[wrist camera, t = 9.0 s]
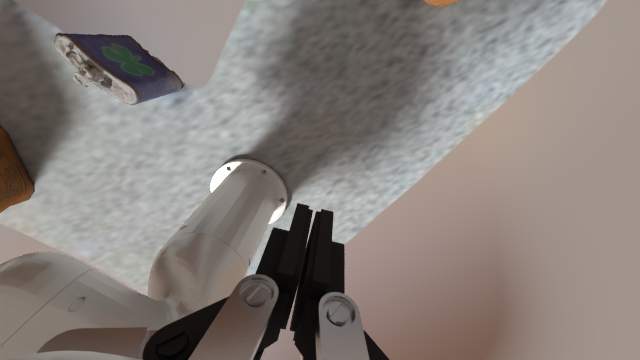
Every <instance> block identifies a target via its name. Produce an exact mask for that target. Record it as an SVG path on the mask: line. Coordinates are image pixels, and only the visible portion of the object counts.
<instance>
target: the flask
mask: <svg viewBox="0 0 640 360" xmlns="http://www.w3.org/2000/svg"><path fill="white" fill-rule="evenodd" d="M54 41H55V47H56V49H57V50H58V52H59V53H60V54H61V55H62V56H63V57H64V58H65V59H66V60H68V61H69V62H70V63H71V64H72V65H73V66H74V68H76V69H77V70H78V72H75V74H76V75H77V76H78V77H79V78H81V80H82V81H84V82H91V83H94V84H95V85H96V86H98V87H100V88H101V89H103V90H104V91H106V92H107V93H109V94H111V95H113V96H114V97H116V98H117V99H119V100H121V101H123V102H125V103H127V104H130V105H135V104H138V103H141V102H144V101H147V100H151V99H154V98H158V97H160V96H163V95H167V94H170V93H174V92H178V91H179V90H180V89H181V88H182V85H183V82H182V81H181V79H180V78H179V76H178V75H177V74H176V73H175V72H174V71H171V70H169V69H168V68H167V67H166V66H165V65H164V64H163V63H162V62H161V61H160V60H159V59H158V58H156V57H154V56H151V55H150V54H149V53H148V51H147V50H145V49H143V48H142V47H141V45H140V44H139V43H137V42H136V41H135V40H134V39H133V38H132V37H131V36H128V35H113V36H112V35H103V34H99V35H98V34H97V35H90V34H89V35H84V34H62V33H58V34H56V36H55V40H54ZM73 79H74V80H75V81H76V82H77V83H78V84H79V85H82V83H81V81H80V80H78V79H77V78H76V76H74V77H73ZM84 86H85V87H88V86H87V85H84Z"/></svg>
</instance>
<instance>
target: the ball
mask: <svg viewBox="0 0 640 360" xmlns="http://www.w3.org/2000/svg"><path fill="white" fill-rule="evenodd" d="M424 1H425V2H427V3H428V4H431V5H434V6H446V5H449V4H452V3H454V2H456V1H458V0H424Z"/></svg>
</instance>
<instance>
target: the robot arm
mask: <svg viewBox="0 0 640 360" xmlns="http://www.w3.org/2000/svg"><path fill="white" fill-rule="evenodd" d="M287 201H288V194H287V189H286V186H285V184H284V182H283V180H282V179H281V178H280V176H279V175H278V174H277V173H276V172H275V171H274V170H273V169H271V168H270V167H268V166H267V165H265V164H263V163H261V162H259V161H255V160H251V159H236V160H232V161H229V162H227V163H225V164H224V165H222V166H221V167H220V168H219V169H218V170H217V171H216V173H215V174H214V176H213V178H212V182H211V193H210V195H209V196H208V197H207V198H206V199H205V200H204V201H203V202H202V204H201V205H200V206H199V207H198V208H197V209H196V210H195V211H194V213H193V214H192V215H191V216H190V217H189V218H188V219H187V220H186V222H185V223H184V224H183V225H182V226H181V227H180V228H179V230H178V231H177V232H176V233H175V234H174V235H173V236H172V237H171V239H170V240H169V241H168V242H167V243H166V244H165V245H164V246H163V248H162V249H161V250H160V251H159V253H158V254H157V256H156V258H155V260H154V262H153V265H152V268H151V270H150V275H149V282H148V296H146V295H144V294H143V295H142V294H140V293H138V292H137V291H135V290H133V289H131V288H130V287H128V286H126V285H124V284H123V283H121V282H119V281H117V280H115V279H114V278H112V277H110V276H108V275H106V274H105V273H103V272H101V271H99V270H98V269H96V268H93V267H92V266H90V265H88V264H86V263H84V262H82V261H80V260H78V259H76V258H74V257H71V256H68V255H65V254H62V253H57V252H35V253H29V254H25V255H22V256H19V257H16V258H14V259H11V260H9V261H7V262H5V263H3V264H1V265H0V360H262V358H263V355H264V353H265V349H266V348H267V347H268V346H270V345H271V344H273V343H274V342H276V341H277V340H278V336H279V333H280V329H286V325H287V322H288V319H289V315H290V312H291V308H292V304H293V301H294V298H295V294H296V291H297V295H296V300H295V306H294V311H293V315H292V321H291V326H290V331H294V332H295V333H294V339H293V341H295V345H296V347H297V348H298V350H299V352H300V353H301V357H300V360H389V359H388V358H387V356H386V355H385V354H384V353H383V352H382V351H381V349H380V348H379V347H378V346H377V345H376V344H375V342H374V341H373V340H372V339H371V338H370V337H369V335H368V334H367V333H366V332H365V331H364V330H363V326H362V321H361V317H360V312H359V309H358V307H357V305H356V304H355V302H354V301H353V300H352V299H351V298H350V297H349V296H347V295H345V294H344V244H341V243H337V242H333V241H332V228H333V212H332V211H328V210H323V209H322V210H321V212H318V211H316V214H315V218H314V221H313V225H312V229H311V232H310V236H309V240H308V243H307V239H308V234H309V228H310V223H311V218H312V212H313V210H310V209H309V206H307V205H303V204H299V203H297V207H296V210H295V214H294V217H293V220H292V224H291V227H290V231H287V230H282V229H278V228H273V230H272V232H271V235H270V237H269V240H268V243H267V245H266V248H265V250H264V253H263V256H262V258H261V261H260V263H259V266H258V269H257V271H256V274H253V275H249V276H247V277H246V275H247V272H248V270H249V268H250V265H251V263H252V261H253V259H254V256H255V254H256V252H257V249H258V247H259V245H260V242H261V240H262V238H263V236H264V233H265V231H266V229H267V226H268V225H269V224H271V223H274V222H275V221H277V220H278V219H279V218H280V217H281V216H282V214H283V213H284V211H285V208H286V206H287ZM306 244H307V247H306ZM298 283H299V284H298ZM297 287H298V289H297Z"/></svg>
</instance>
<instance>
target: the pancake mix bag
mask: <svg viewBox="0 0 640 360" xmlns="http://www.w3.org/2000/svg"><path fill="white" fill-rule="evenodd" d="M33 193H34V184H33V182H32V180H31V178H30V177H29V175H28V173H27V171H26V169H25V167H24V165H23V163H22V162H21V160H20V158H19V156H18V154H17V152H16V150H15V149H14V146H13V144H12V142H11V140H10V138H9V136H8V134H7V133H6V132H5V131H4V130H3V129H2V128H1V127H0V213H1V212H2V211H4V210H5V209H7V208H8V207H9V206H12V205H15V204H18V203H21V202H24V201H27V200H29V198H30V197H31V195H32V194H33Z"/></svg>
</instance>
